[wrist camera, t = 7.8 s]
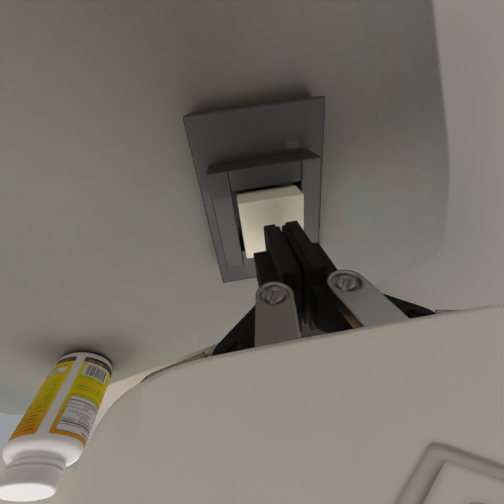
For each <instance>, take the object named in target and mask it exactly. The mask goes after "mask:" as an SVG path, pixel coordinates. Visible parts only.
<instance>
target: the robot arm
mask: <svg viewBox="0 0 504 504" xmlns="http://www.w3.org/2000/svg"><path fill="white" fill-rule="evenodd" d="M264 238H265V248H266V251H262V252H256V253H253V255H254V262H255V269H256V275H257V280H258V285H259V288H258V290H257V292H256V305H255V306H254V307H253V308H252V309H251V310H250V311H249V312H248V313H247V314H246V315H245V316H244V317H243V319H242V320H241V321H240V322H239V323H238V324H237V325H236V326H235V327H234V328H233V329H232V330H231V331H230V332H229V333H228V334H227V335H226V336H225V337H224V338H223V340H222V341H221V342H220V343H219V344H218V345H217V346H216V348H215V349H214V352H211V353H209V354H206V355H205V352H203V353H201V354H198V355H196V356H193V357H191V358H189V359H186V360H183V361H181V362H178V363H176V364H173V365H171V366H168V367H166V368H163V369H161V370H158V371H156V372H153V373H151V374H150V375H148V376H146V377H145V378H144V379H143V380H142V381H141V382H140V383H139V384H137V385H136V386H134V387H133V388H131V389H130V390H129V391H127V392H126V393H125V394H124V395H122V396H121V397H120V398H119V399H118V400H117V401H116V402H114V403H113V405H112V406H111V407H110V408H109V409H108V411H107V412H106V413H105V415H104V416H103V418H102V419H101V421H100V422H99V424H98V426H97V428H96V429H95V431H94V433H93V435H92V437H91V439H90V441H89V443H88V445H87V447H86V449H85V451H84V453H83V456H82V458H81V460H80V462H79V465H78V467H77V469H76V472H75V474H74V476H73V479H72V481H71V484H70V486H69V488H68V491H67V493H66V496H65V498H64V501H63V503H62V504H504V304H497V305H489V306H482V307H476V308H470V309H464V310H435V313H434V312H433V311H431V310H429V309H427V308H424V307H422V306H418V305H416V304H413V303H409V302H406V301H403V300H400V299H397V298H394V297H391V296H388V295H385V294H382V293H381V292H380V291H379V290H377V289H376V288H375V287H374V286H373V285H372V284H371V283H370V282H368V281H367V280H366V279H365V278H364V277H363V276H362V275H360V274H359V273H356V272H354V271H350V270H337V268H336V267H335V266H334V264H333V263H332V261H331V260H330V259H329V257H328V256H327V254H326V253H325V252H324V250H323V249H322V247H321V246H320V245H319V244H318V243H317V242H316V243H312V242H311V241H310V239H309V238H308V236H307V235H306V233H305V232H304V230H303V229H302V227H301V226H300V224H299V223H298V221H297V220H296V221H290V222H286V223H285V225H283V226H282V231H281V229H280V227H279V226H277V227H276V226H275V224H272V225H266V226H264ZM302 319H303V321H304V323H305V324H307V323H308V324H309V326H310V328H311V330H316V329H319V330H321V331H323V335H318V336H313V337H308V338H302V339H301V334H300V333H301V331H302Z"/></svg>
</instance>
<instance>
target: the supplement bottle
mask: <svg viewBox="0 0 504 504" xmlns="http://www.w3.org/2000/svg"><path fill="white" fill-rule="evenodd" d="M111 375H112V366H111V364H110V362H109V361H108V360H107V359H105V358H104V357H102V356H100V355H97V354H93V353H87V352H77V353H71V354H68V355H65V356H63V357H62V358H60V359H59V360H58V361H57V362H56V363H55V365H54V367H53V368H52V370H51V372H50V373H49V375H48V377H47V378H46V380H45V382H44V383H43V385H42V386H41V388H40V390H39V391H38V393H37V395H36V396H35V398H34V400H33V401H32V403H31V405H30V406H29V408H28V410H27V411H26V413H25V415H24V416H23V418H22V420H21V422H20V423H19V425H18V426H17V428H16V430H15V431H14V433H13V435H12V436H11V438H10V439H9V441H8V443H7V445H6V446H5V448H4V450H3V460H4V461H5V462H6V463H7V464H8V465H7V466H6V468H5V470H4V471H3V472H2V474H1V477H0V499H2V500H7V501H18V502H23V501H36V500H41V499H45V498H48V497H50V496H52V495H53V494H54V493H55V492H56V490H57V488H58V486H59V483H60V481H61V479H62V477H63V475H64V471H65V469H66V467H67V466H69V465H71V464H73V463H74V462H75V461H77V460H78V459H79V457H80V456H81V454H82V452H83V450H84V447H85V444H86V442H87V439H88V437H89V433H90V431H91V428H92V425H93V423H94V420H95V418H96V415H97V412H98V410H99V407H100V404H101V402H102V399H103V396H104V394H105V391H106V388H107V386H108V383H109V380H110V378H111Z"/></svg>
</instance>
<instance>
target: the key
mask: <svg viewBox="0 0 504 504" xmlns="http://www.w3.org/2000/svg"><path fill="white" fill-rule="evenodd" d="M236 197H237V203H238V209H239V215H240V222H241V228H242V234H243V240H244V246H245V252H246V257H247V258H253V257H254V255H253V253H256V252H262V251H266V248H265V238H264V226H266V225H272V224H275V226H276V227H277V226H279V227H280V229H281V231H282V226H283V225H285V223H286V222H290V221H296V220H297V221H298V223H299V224H300V226H301V227H302V229H303V230H304V194H303V193H302V192H301V191H300V190H299V188H298V187H297V186H296V185H289V186H282V187H276V188H270V189H263V190H257V191H251V192H244V193H238V194H236Z"/></svg>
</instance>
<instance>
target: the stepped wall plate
mask: <svg viewBox="0 0 504 504" xmlns="http://www.w3.org/2000/svg"><path fill="white" fill-rule="evenodd" d="M324 112H325V97H324V96H316V97H306V98H299V99H292V100H285V101H278V102H271V103H264V104H257V105H250V106H243V107H236V108H229V109H222V110H215V111H208V112H202V113H195V114H188V115H186V116H184V117H183V121H184V125H185V129H186V133H187V137H188V141H189V145H190V150H191V154H192V158H193V162H194V166H195V170H196V174H197V178H198V182H199V186H200V190H201V194H202V199H203V203H204V207H205V211H206V215H207V219H208V223H209V227H210V231H211V235H212V239H213V243H214V248H215V252H216V256H217V260H218V264H219V268H220V272H221V276H222V280H223V283H226V282H232V281H237V280H243V279H249V278H255V277H257V275H256V269H255V262H254V257H253V258H247V257H246V252H245V246H244V240H243V234H242V228H241V222H240V215H239V209H238V203H237V197H236V194H238V193H244V192H251V191H257V190H263V189H270V188H276V187H282V186H289V185H296V186H297V187H298V188H299V190H300V191H301V192H302V193H303V194H304V232H305V233H306V235H307V236H308V238H309V239H310V241H311V242H312V243H316V242H317V243H318V244H319V225H320V202H321V180H322V157H323V135H324Z"/></svg>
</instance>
